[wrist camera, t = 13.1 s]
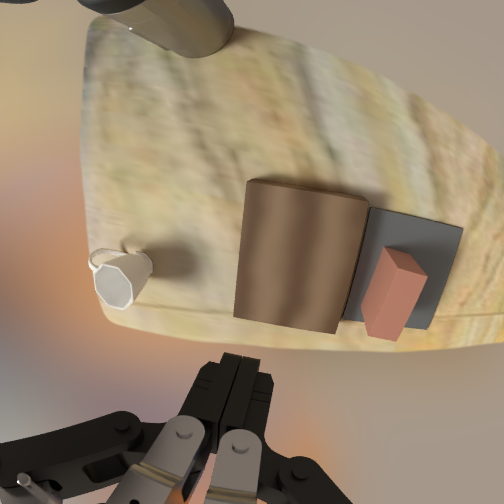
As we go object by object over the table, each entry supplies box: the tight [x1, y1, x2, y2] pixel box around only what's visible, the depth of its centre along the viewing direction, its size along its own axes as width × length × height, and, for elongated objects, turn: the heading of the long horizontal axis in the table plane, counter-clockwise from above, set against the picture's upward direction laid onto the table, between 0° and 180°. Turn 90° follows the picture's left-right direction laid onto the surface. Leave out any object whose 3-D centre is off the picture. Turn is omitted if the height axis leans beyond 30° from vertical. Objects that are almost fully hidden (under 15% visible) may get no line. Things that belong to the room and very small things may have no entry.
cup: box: [89, 248, 153, 311], centre depth 39 cm, size 7×10×8 cm
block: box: [361, 246, 428, 341], centre depth 33 cm, size 7×9×4 cm
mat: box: [342, 207, 462, 330], centre depth 36 cm, size 14×16×1 cm
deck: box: [233, 179, 369, 334], centre depth 37 cm, size 14×18×3 cm
